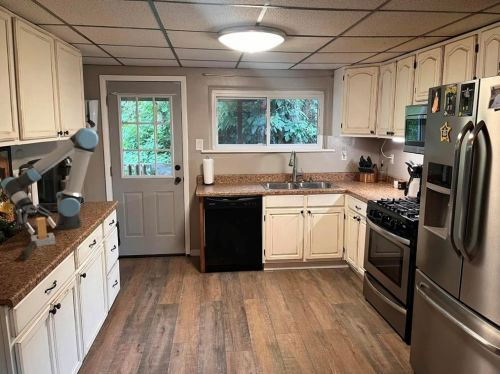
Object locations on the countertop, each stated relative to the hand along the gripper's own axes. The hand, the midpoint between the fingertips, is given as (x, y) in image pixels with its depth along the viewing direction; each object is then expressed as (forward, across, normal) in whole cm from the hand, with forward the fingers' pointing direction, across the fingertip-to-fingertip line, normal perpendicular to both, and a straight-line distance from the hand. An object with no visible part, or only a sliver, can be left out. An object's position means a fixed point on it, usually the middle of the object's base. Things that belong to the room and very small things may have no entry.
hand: (44, 229), depth 208 cm
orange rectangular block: (+4, 0, -7) cm, 8 cm away
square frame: (+4, 0, -7) cm, 8 cm away
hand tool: (+11, +16, 0) cm, 19 cm away
